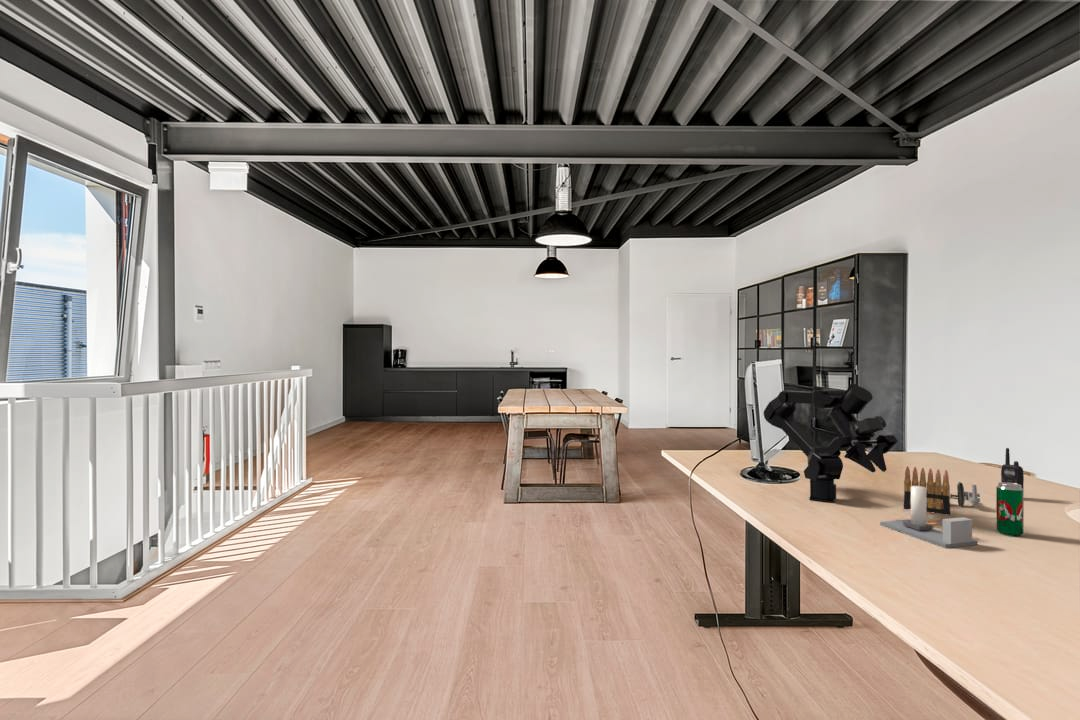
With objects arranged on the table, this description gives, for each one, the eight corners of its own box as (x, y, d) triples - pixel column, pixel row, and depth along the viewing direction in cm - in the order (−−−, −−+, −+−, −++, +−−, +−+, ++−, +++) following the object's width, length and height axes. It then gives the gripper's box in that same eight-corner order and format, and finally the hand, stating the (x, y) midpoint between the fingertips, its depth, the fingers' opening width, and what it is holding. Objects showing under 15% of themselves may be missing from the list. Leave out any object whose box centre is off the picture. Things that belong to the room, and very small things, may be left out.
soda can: (1017, 531, 139) (1017, 482, 139) (1027, 537, 134) (1027, 486, 134) (992, 529, 140) (992, 481, 140) (1001, 535, 136) (1001, 485, 136)
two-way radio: (998, 496, 173) (998, 447, 172) (1006, 495, 174) (1006, 446, 174) (1020, 501, 168) (1020, 450, 167) (1028, 499, 169) (1028, 449, 169)
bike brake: (986, 509, 156) (970, 504, 173) (985, 484, 157) (969, 481, 174) (927, 504, 162) (917, 500, 180) (925, 480, 163) (916, 478, 181)
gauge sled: (903, 525, 141) (903, 485, 141) (926, 522, 143) (926, 483, 143) (919, 530, 137) (919, 489, 137) (942, 528, 138) (942, 487, 138)
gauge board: (880, 525, 145) (880, 502, 145) (909, 522, 147) (909, 500, 147) (945, 548, 127) (945, 522, 127) (977, 544, 129) (977, 519, 129)
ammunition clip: (950, 513, 155) (950, 469, 155) (950, 515, 154) (950, 470, 154) (904, 507, 161) (903, 465, 161) (903, 509, 160) (903, 466, 160)
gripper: (834, 407, 153) (867, 455, 143) (892, 405, 158) (927, 451, 147) (814, 432, 161) (843, 479, 150) (869, 430, 165) (901, 475, 155)
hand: (879, 471), depth 150 cm, fingers open, 3 cm apart
